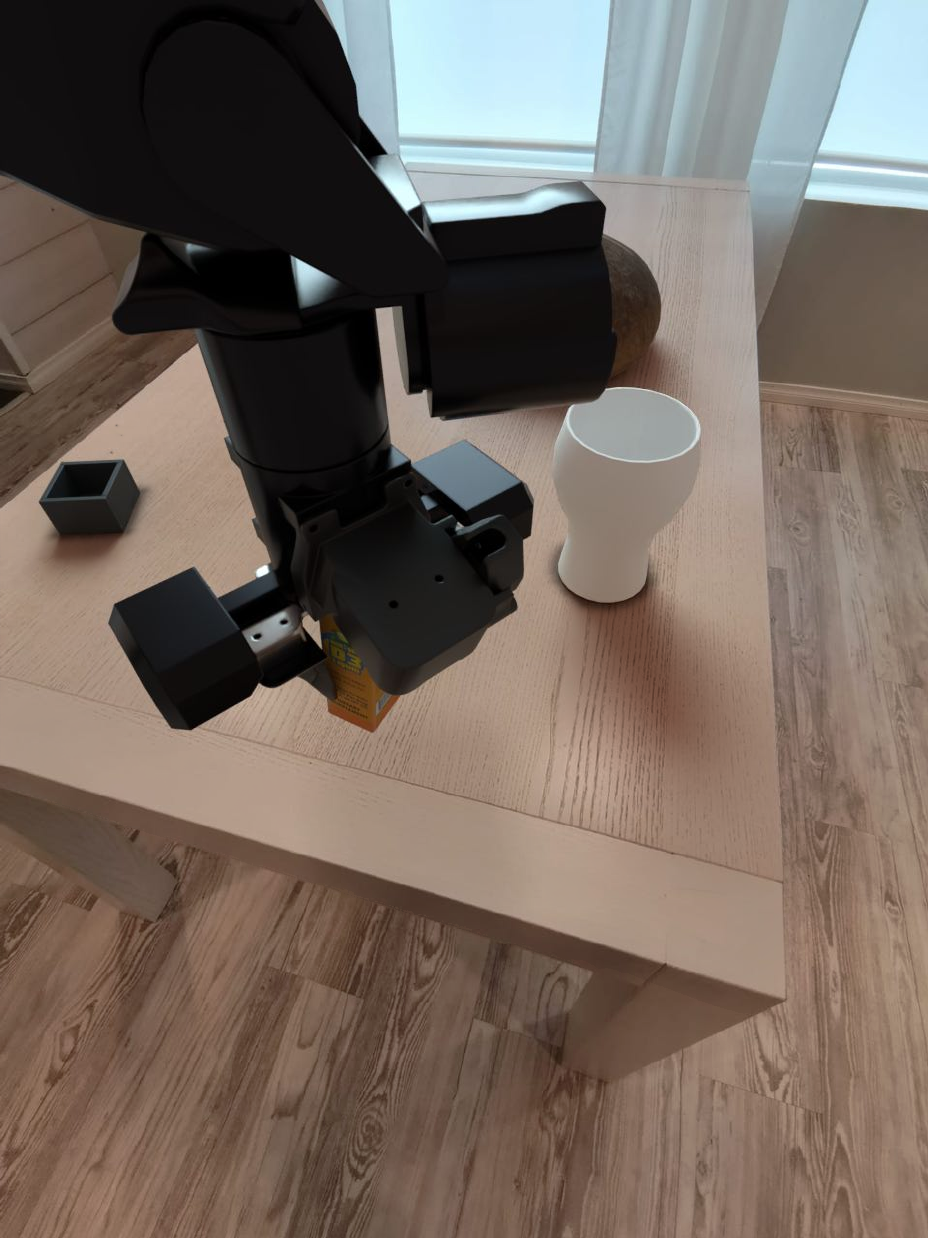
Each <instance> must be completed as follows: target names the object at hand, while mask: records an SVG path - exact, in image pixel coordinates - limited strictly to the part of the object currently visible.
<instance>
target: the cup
mask: <svg viewBox="0 0 928 1238" xmlns="http://www.w3.org/2000/svg"><path fill="white" fill-rule="evenodd" d="M701 454H702V427H701V425H700V421H699V418H698V417H697V415H696V414H695V413H694V412H693V411H692V410H691V408H690V407H688V406H687V405H685V404H684V403H683V402H681V401H680V400H678V399H676V398H674V397H672V396H669V395H667V394H664V393H661V392H659V391H655V390H652V389H644V388H639V387H626V386H625V387H624V386H623V387H622V386H620V387H619V386H618V387H610V388H606V389H605V391H604V392H603V394H602V395H601V396H600V398H599V399H598V400H596V401H594V402H591V403H583V404H575V405H570V407H569V408H568V409H567V412H566V415H565V417H564V420H563V422H562V425H561V428H560V429H559V433H558V436H557V438H556V440H555V443H554V448H553V456H552V457H553V458H552V466H551V469H552V481H553V485H554V488H555V489H554V490H555V493H556V498H557V501H558V504H559V506H560V508H561V510H562V512H563V514H564V515H565V518H566V519H567V537H566V539H565V542H564V544H563V547H562V549H561V554H560V557H559V560H558V564H557V571H558V572H557V573H558V575H559V578H560V580H561V582H562V583H563V584H564V586H566V588H567V589H568V590H570V591H571V592H572V593H574V594H575V595H577V596H579V597H581V598H583V599H586V600H588V601H592V602H597V603H611V604H612V603H618V602H623V601H626V600H629V599H630V598H632V597H634V596H636V595H637V594H639V592H640V591H641V590H642V589H643V587H644V586H645V584H646V581H647V577H648V567H649V552H650V551H649V550H650V547H651V546H652V543H653V541H654V539H655V537H656V535H657V534H658V533H660V532H661V531H662V530H663V529H664V528H665V527H667V526H668V525H669V524H670V523H671V522H672V521H673V519H675V517H676V516H677V514H678V513H679V512H680V510H681V509H682V507H683V506H684V505H685V503H686V502H687V500H688V499H689V498H690V496H691V495H692V493H693V490H694V487H695V484H696V480H697V478H698V474H699V472H700V471H699V470H700V466H701V459H702V458H701V457H702V455H701Z"/></svg>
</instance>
